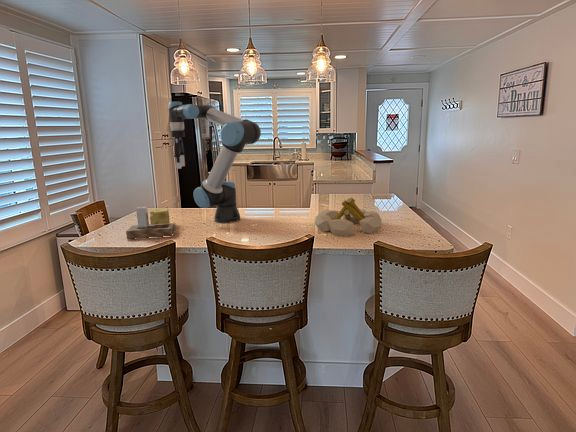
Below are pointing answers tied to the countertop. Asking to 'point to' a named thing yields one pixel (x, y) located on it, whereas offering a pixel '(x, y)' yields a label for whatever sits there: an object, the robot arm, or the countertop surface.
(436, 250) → the countertop surface
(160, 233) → the keyhole plate
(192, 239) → the countertop surface
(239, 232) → the countertop surface
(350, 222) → the campfire
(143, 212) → the peg
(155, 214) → the cheese
